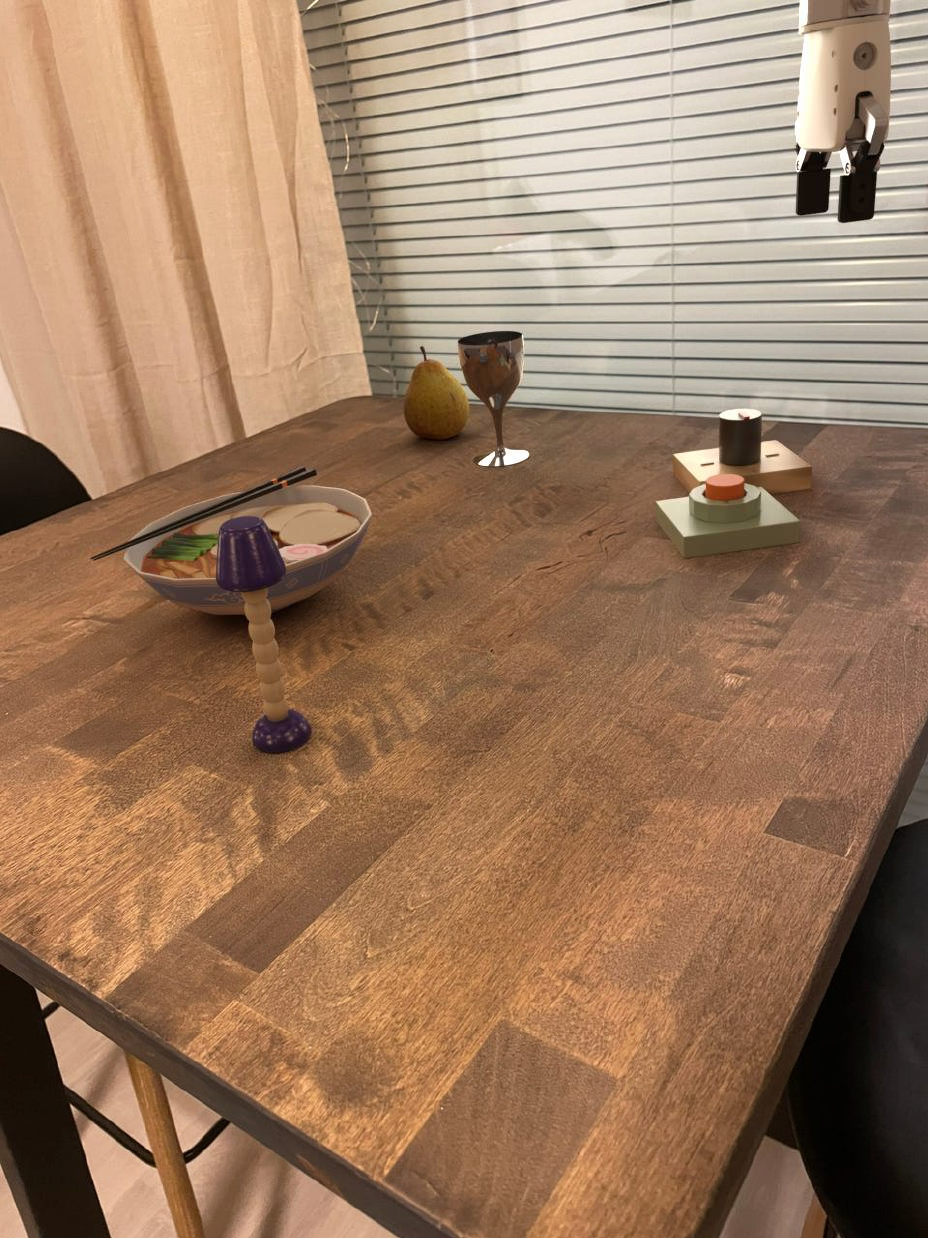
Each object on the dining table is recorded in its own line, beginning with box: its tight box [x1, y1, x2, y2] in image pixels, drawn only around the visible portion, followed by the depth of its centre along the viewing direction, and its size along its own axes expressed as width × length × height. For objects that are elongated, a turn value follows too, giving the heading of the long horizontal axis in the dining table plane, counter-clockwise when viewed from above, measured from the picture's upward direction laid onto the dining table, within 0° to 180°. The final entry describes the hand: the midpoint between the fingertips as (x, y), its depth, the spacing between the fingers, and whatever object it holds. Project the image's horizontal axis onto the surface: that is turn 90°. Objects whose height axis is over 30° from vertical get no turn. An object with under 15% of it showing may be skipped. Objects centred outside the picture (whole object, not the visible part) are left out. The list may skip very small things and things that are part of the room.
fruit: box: [403, 345, 470, 441], centre depth 133 cm, size 9×9×12 cm
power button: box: [706, 474, 745, 501], centre depth 93 cm, size 4×4×2 cm
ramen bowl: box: [89, 466, 373, 616], centre depth 91 cm, size 25×23×8 cm
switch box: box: [654, 483, 801, 559], centre depth 94 cm, size 11×10×4 cm
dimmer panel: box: [672, 439, 813, 495], centre depth 106 cm, size 12×10×3 cm
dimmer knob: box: [718, 408, 763, 466], centre depth 104 cm, size 4×4×5 cm
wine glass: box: [457, 330, 530, 468], centre depth 120 cm, size 8×8×15 cm
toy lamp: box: [216, 516, 312, 754], centre depth 67 cm, size 5×5×17 cm
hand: (832, 217), depth 93 cm, fingers open, 9 cm apart
